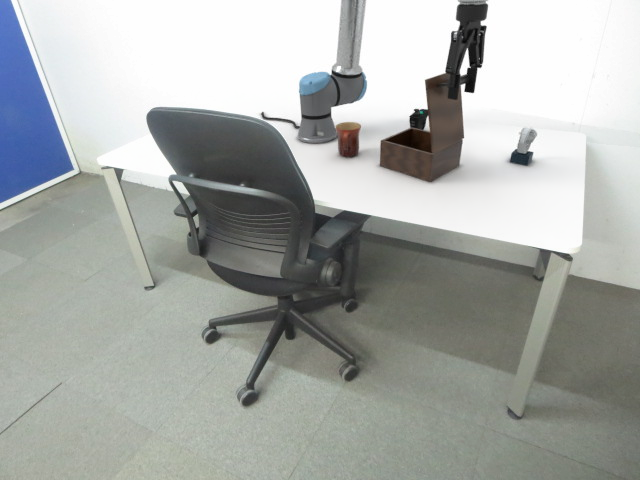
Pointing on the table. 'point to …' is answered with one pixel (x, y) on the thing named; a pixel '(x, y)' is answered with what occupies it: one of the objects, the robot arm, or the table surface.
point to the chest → (418, 155)
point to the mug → (348, 138)
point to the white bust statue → (524, 147)
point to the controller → (418, 119)
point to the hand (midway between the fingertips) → (461, 95)
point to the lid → (444, 112)
